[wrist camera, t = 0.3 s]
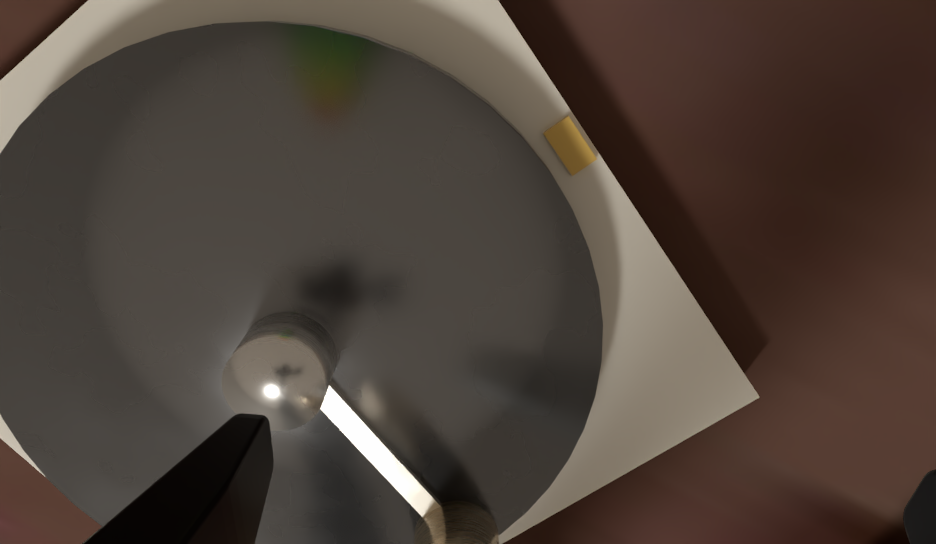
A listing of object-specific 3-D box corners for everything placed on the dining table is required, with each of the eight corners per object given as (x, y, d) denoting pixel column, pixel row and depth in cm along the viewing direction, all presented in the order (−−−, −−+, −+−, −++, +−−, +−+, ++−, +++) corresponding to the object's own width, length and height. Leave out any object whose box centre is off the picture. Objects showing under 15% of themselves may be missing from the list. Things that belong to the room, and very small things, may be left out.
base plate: (282, 642, 30) (272, 677, 29) (-162, 249, 23) (-207, 267, 22) (743, 376, 26) (762, 400, 24) (353, -216, 19) (343, -236, 17)
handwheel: (-141, 277, 22) (-358, 373, 16) (335, -142, 18) (272, -214, 12) (282, 650, 28) (235, 817, 22) (711, 403, 24) (790, 530, 18)
